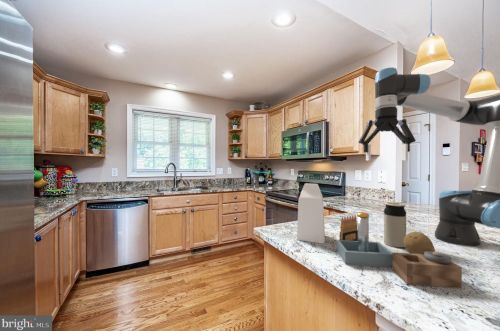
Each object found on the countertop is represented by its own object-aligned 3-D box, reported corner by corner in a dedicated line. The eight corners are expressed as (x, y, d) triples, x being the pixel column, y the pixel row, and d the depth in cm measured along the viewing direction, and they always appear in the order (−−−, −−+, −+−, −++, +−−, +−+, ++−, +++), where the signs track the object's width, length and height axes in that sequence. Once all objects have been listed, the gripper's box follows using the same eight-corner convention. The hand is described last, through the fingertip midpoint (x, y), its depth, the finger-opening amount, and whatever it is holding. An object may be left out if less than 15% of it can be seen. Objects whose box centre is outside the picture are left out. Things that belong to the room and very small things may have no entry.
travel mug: (382, 244, 91) (382, 203, 91) (386, 240, 97) (385, 201, 97) (404, 249, 86) (404, 206, 86) (407, 244, 91) (407, 203, 92)
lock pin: (366, 254, 79) (366, 212, 79) (370, 258, 76) (370, 214, 76) (355, 253, 80) (355, 212, 80) (359, 257, 76) (359, 214, 76)
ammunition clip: (342, 245, 91) (342, 217, 91) (339, 243, 92) (339, 216, 92) (358, 240, 96) (358, 214, 96) (354, 239, 97) (354, 214, 98)
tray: (378, 252, 83) (378, 242, 83) (395, 267, 71) (395, 254, 71) (336, 250, 85) (336, 239, 85) (345, 264, 73) (345, 251, 73)
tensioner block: (440, 273, 66) (440, 248, 66) (461, 288, 58) (461, 259, 58) (392, 270, 68) (392, 246, 69) (406, 284, 61) (406, 256, 61)
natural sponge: (401, 251, 83) (401, 227, 83) (430, 256, 79) (430, 230, 79) (404, 260, 76) (404, 233, 76) (437, 266, 71) (437, 237, 71)
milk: (296, 239, 97) (296, 184, 98) (300, 232, 108) (300, 182, 108) (323, 243, 93) (323, 185, 93) (325, 235, 104) (324, 183, 104)
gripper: (356, 107, 83) (356, 160, 83) (426, 104, 79) (426, 160, 79) (350, 112, 90) (350, 160, 90) (414, 109, 86) (414, 160, 86)
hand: (386, 160), depth 85 cm, fingers open, 13 cm apart
